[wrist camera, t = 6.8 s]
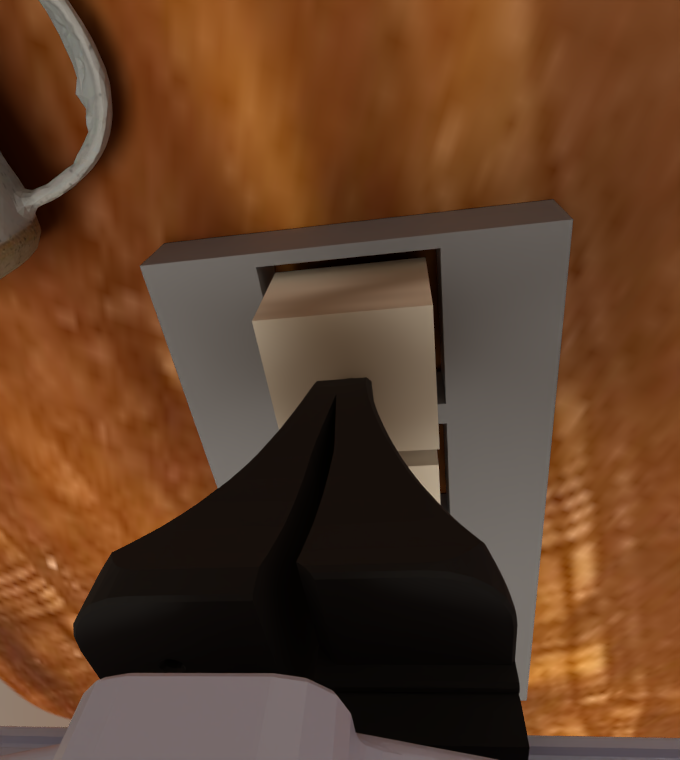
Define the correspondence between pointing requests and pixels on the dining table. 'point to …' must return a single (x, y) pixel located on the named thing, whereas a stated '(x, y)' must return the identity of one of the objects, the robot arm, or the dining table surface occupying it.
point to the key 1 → (355, 341)
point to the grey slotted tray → (454, 382)
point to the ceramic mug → (18, 205)
